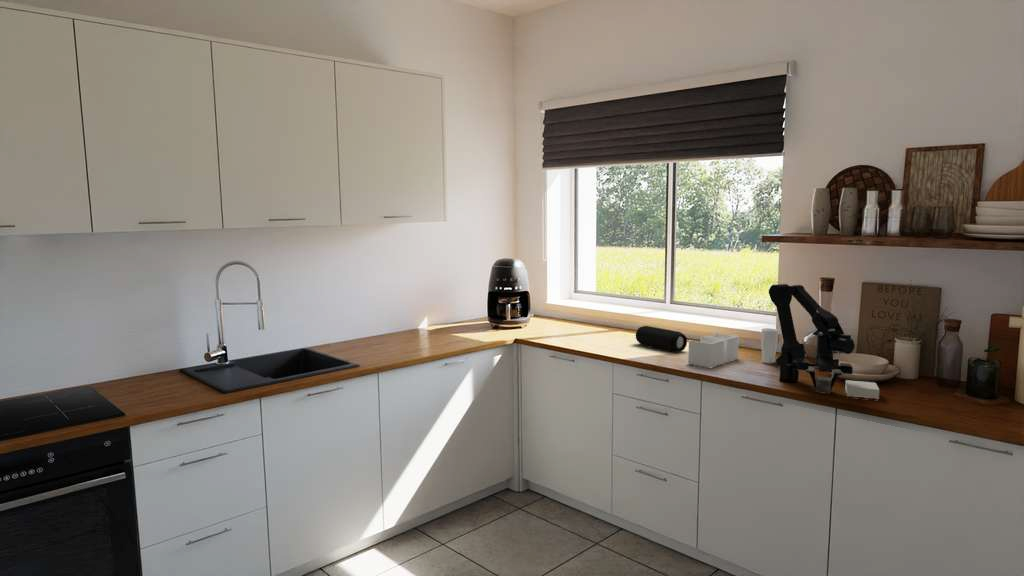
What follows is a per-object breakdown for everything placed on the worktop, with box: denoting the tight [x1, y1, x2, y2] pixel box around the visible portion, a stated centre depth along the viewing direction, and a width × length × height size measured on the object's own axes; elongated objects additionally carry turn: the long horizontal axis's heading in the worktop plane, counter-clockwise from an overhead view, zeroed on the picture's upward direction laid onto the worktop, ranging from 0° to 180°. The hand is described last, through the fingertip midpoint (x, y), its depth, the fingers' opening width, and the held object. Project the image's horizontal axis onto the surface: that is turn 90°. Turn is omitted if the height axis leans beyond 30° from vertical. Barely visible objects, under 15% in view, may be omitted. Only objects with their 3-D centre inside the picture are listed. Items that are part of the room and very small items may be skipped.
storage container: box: [687, 332, 740, 369], centre depth 291 cm, size 25×11×11 cm, turn 134°
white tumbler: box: [760, 327, 779, 365], centre depth 289 cm, size 7×7×15 cm
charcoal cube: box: [814, 376, 832, 394], centre depth 243 cm, size 5×5×5 cm
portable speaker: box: [635, 325, 688, 353], centre depth 319 cm, size 26×10×10 cm, turn 38°
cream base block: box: [844, 379, 880, 400], centre depth 238 cm, size 10×10×4 cm
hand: (822, 388), depth 243 cm, fingers closed on charcoal cube, 5 cm apart
